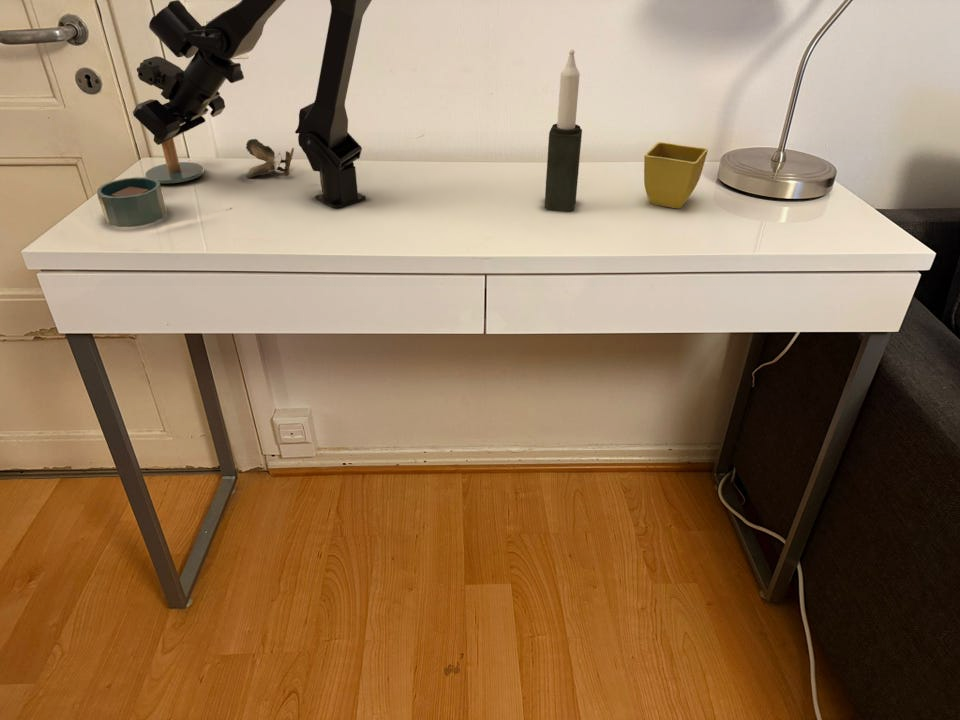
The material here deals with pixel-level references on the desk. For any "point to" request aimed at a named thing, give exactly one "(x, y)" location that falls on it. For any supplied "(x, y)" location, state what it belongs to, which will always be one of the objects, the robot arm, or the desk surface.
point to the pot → (132, 202)
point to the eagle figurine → (266, 159)
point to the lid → (174, 167)
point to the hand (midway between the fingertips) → (160, 140)
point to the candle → (564, 145)
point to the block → (129, 191)
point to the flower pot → (672, 173)
